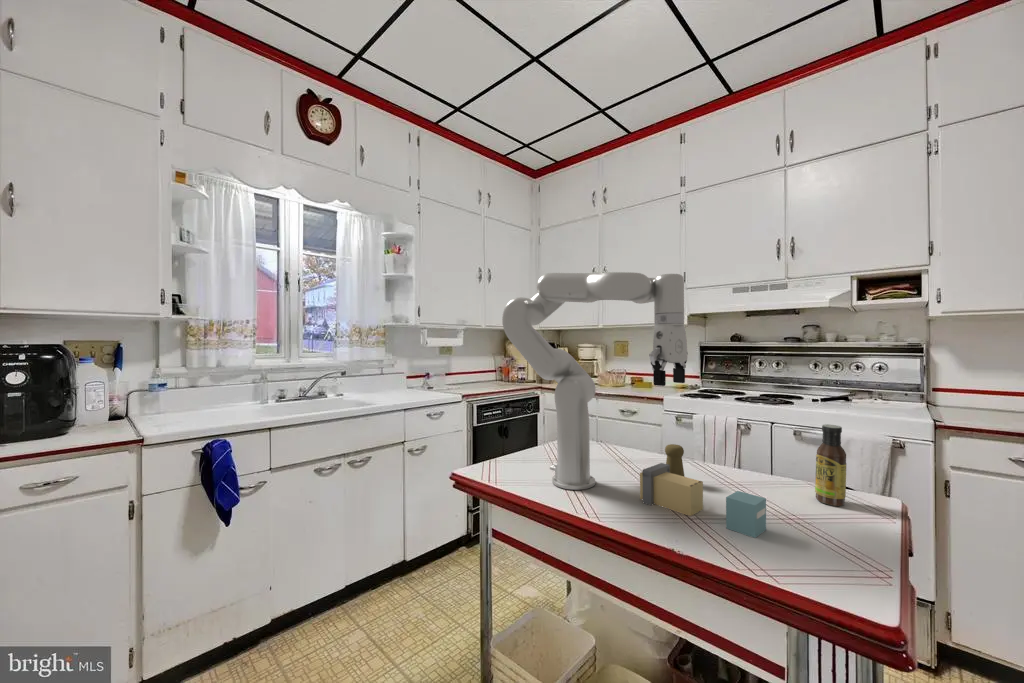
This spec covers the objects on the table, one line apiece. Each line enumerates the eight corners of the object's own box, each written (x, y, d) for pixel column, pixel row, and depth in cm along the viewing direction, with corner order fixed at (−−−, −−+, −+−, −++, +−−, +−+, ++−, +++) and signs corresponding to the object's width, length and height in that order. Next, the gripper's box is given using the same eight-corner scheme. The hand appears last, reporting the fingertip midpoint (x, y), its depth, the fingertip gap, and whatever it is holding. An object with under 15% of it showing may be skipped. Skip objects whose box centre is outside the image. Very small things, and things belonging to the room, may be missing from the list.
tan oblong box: (636, 500, 111) (636, 468, 110) (655, 492, 116) (655, 461, 116) (687, 518, 100) (687, 481, 100) (705, 508, 105) (705, 473, 105)
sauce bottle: (809, 498, 111) (809, 423, 110) (829, 497, 112) (829, 422, 111) (831, 508, 104) (831, 428, 104) (853, 506, 105) (852, 427, 105)
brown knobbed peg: (681, 478, 127) (681, 442, 127) (688, 485, 121) (688, 447, 121) (661, 478, 128) (661, 442, 127) (666, 485, 122) (666, 447, 121)
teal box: (726, 528, 94) (726, 497, 94) (737, 520, 98) (737, 490, 98) (755, 538, 89) (755, 505, 89) (766, 529, 93) (766, 498, 93)
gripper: (664, 319, 105) (664, 388, 105) (698, 320, 115) (698, 382, 116) (638, 320, 110) (638, 385, 111) (673, 321, 121) (673, 380, 121)
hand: (669, 384), depth 113 cm, fingers open, 9 cm apart
